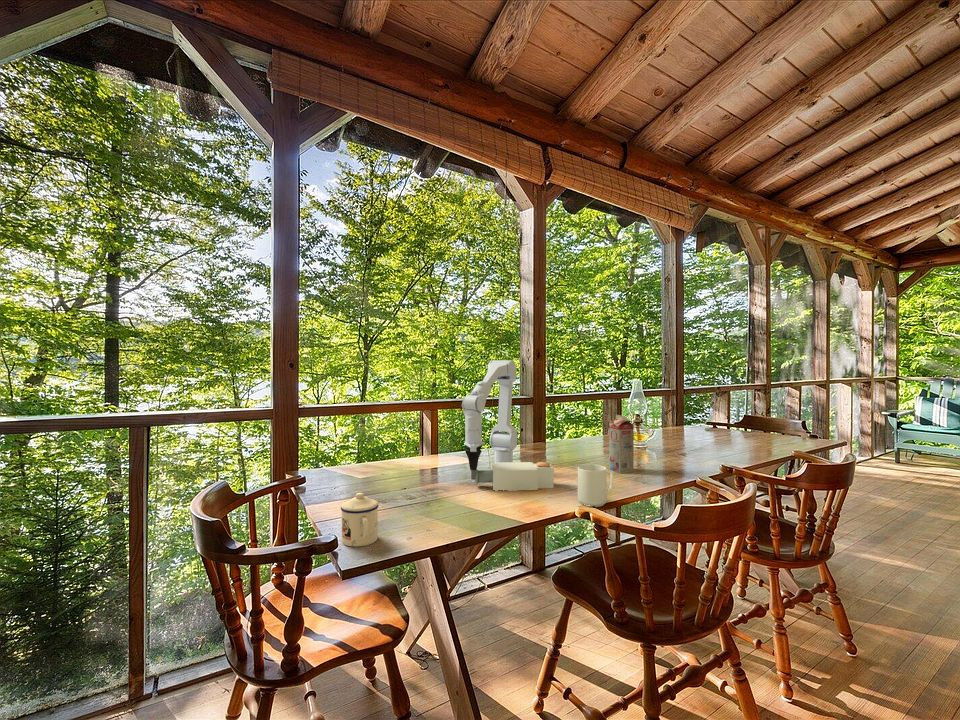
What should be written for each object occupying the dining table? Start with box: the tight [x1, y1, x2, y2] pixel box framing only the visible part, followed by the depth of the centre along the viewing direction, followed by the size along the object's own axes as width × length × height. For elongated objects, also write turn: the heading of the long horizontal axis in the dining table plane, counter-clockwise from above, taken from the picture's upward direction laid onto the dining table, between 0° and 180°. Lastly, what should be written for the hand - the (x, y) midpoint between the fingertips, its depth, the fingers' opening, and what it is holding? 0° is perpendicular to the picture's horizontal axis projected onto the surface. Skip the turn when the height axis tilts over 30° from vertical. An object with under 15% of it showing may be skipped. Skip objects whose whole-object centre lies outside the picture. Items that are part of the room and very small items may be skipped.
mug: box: [577, 463, 615, 508], centre depth 148 cm, size 12×9×11 cm
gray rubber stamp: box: [470, 469, 493, 485], centre depth 167 cm, size 5×12×8 cm, turn 93°
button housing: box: [490, 461, 555, 492], centre depth 167 cm, size 12×21×7 cm, turn 93°
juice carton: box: [608, 414, 635, 474], centre depth 189 cm, size 7×7×22 cm
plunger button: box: [536, 461, 551, 467], centre depth 168 cm, size 5×5×4 cm
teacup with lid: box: [340, 492, 380, 548], centre depth 117 cm, size 12×9×12 cm
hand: (473, 468), depth 166 cm, fingers closed on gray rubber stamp, 4 cm apart
